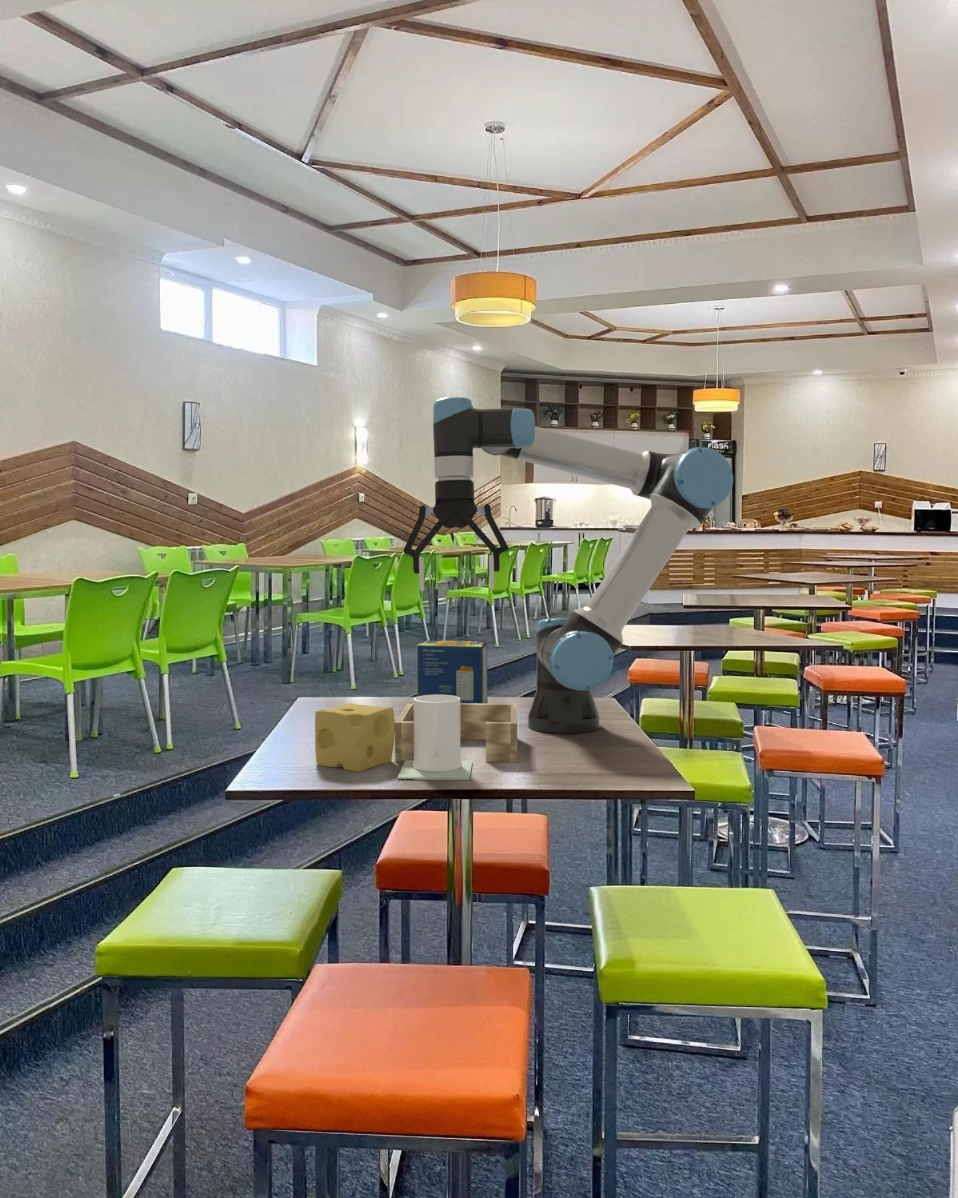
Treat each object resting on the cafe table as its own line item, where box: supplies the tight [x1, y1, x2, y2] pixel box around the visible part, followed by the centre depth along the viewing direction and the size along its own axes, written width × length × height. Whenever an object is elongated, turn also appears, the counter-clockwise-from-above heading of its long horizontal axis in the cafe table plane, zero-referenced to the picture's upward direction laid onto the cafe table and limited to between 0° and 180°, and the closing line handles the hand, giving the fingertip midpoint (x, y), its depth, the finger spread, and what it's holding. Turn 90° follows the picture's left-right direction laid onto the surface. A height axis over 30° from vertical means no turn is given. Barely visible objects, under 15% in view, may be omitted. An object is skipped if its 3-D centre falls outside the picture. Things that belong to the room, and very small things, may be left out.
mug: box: [413, 695, 462, 772], centre depth 165 cm, size 12×8×12 cm
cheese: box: [314, 703, 396, 773], centre depth 171 cm, size 10×11×10 cm
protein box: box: [416, 639, 489, 704], centre depth 224 cm, size 10×15×16 cm
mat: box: [396, 760, 473, 781], centre depth 165 cm, size 12×12×1 cm
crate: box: [394, 702, 518, 763], centre depth 181 cm, size 22×20×7 cm
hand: (457, 589), depth 185 cm, fingers open, 13 cm apart
